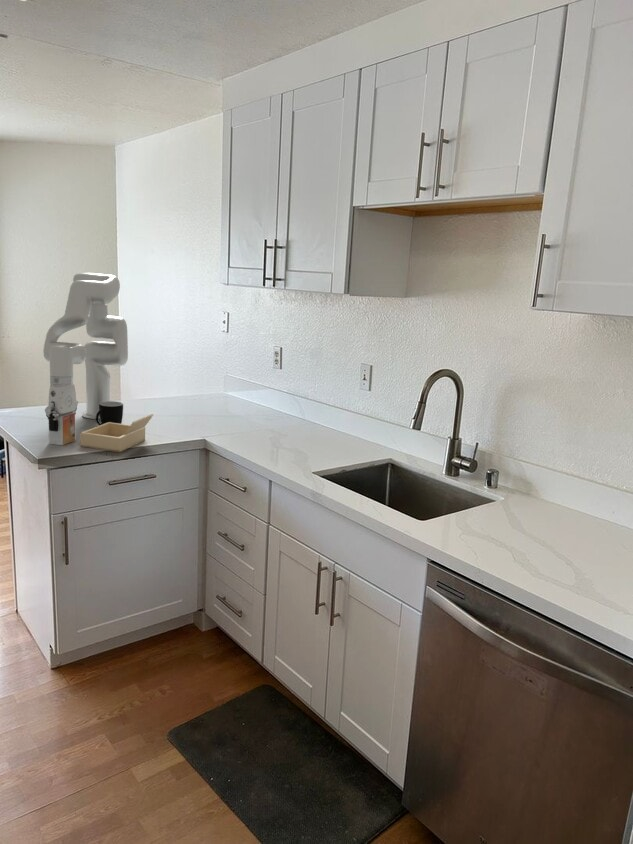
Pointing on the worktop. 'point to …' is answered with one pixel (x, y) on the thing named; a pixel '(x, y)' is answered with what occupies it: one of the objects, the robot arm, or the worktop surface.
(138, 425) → the flap
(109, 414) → the mug
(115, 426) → the carton
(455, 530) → the worktop surface
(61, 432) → the small box
